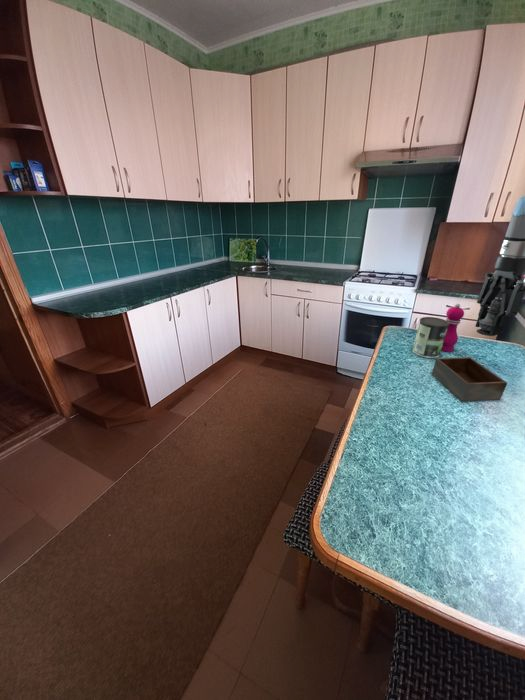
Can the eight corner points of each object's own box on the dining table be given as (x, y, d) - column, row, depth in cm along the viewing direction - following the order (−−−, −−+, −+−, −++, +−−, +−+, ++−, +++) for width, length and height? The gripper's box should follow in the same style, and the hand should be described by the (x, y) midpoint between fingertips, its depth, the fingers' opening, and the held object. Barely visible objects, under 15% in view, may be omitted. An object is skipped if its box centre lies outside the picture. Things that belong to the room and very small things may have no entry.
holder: (464, 372, 107) (470, 357, 104) (500, 400, 92) (507, 382, 89) (431, 374, 106) (436, 358, 103) (461, 401, 91) (467, 384, 88)
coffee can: (442, 352, 122) (452, 320, 115) (435, 361, 115) (445, 328, 108) (416, 345, 128) (424, 314, 121) (408, 353, 121) (416, 321, 115)
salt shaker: (472, 328, 97) (484, 293, 92) (492, 329, 96) (505, 294, 91) (480, 335, 92) (493, 299, 87) (501, 337, 91) (515, 300, 85)
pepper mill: (434, 349, 124) (446, 304, 115) (436, 343, 129) (448, 300, 120) (453, 353, 120) (468, 307, 111) (455, 347, 125) (469, 302, 116)
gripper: (478, 251, 91) (457, 320, 102) (530, 262, 75) (498, 343, 85) (501, 251, 92) (477, 319, 102) (558, 262, 75) (522, 342, 85)
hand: (487, 330), depth 94 cm, fingers closed on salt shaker, 6 cm apart
